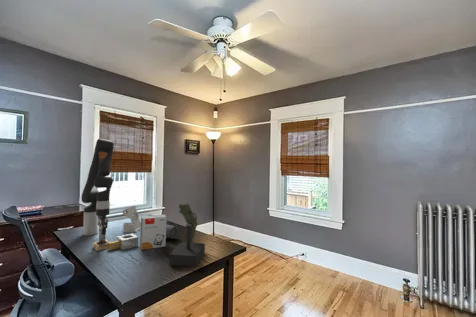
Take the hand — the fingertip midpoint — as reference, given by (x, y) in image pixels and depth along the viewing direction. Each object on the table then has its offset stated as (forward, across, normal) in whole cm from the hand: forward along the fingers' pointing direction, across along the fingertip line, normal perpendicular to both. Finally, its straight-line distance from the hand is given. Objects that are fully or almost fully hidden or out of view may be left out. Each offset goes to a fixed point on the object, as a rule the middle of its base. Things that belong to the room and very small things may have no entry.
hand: (102, 233), depth 148 cm
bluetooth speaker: (+9, -7, -37) cm, 39 cm away
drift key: (+9, -8, -6) cm, 14 cm away
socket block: (+9, -8, -13) cm, 18 cm away
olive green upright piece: (+9, -37, -41) cm, 56 cm away
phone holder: (+9, +27, -30) cm, 41 cm away
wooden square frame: (+9, 0, 0) cm, 9 cm away
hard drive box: (+9, -20, -25) cm, 33 cm away
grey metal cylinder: (+9, 0, 0) cm, 9 cm away
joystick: (+10, -52, -31) cm, 61 cm away
